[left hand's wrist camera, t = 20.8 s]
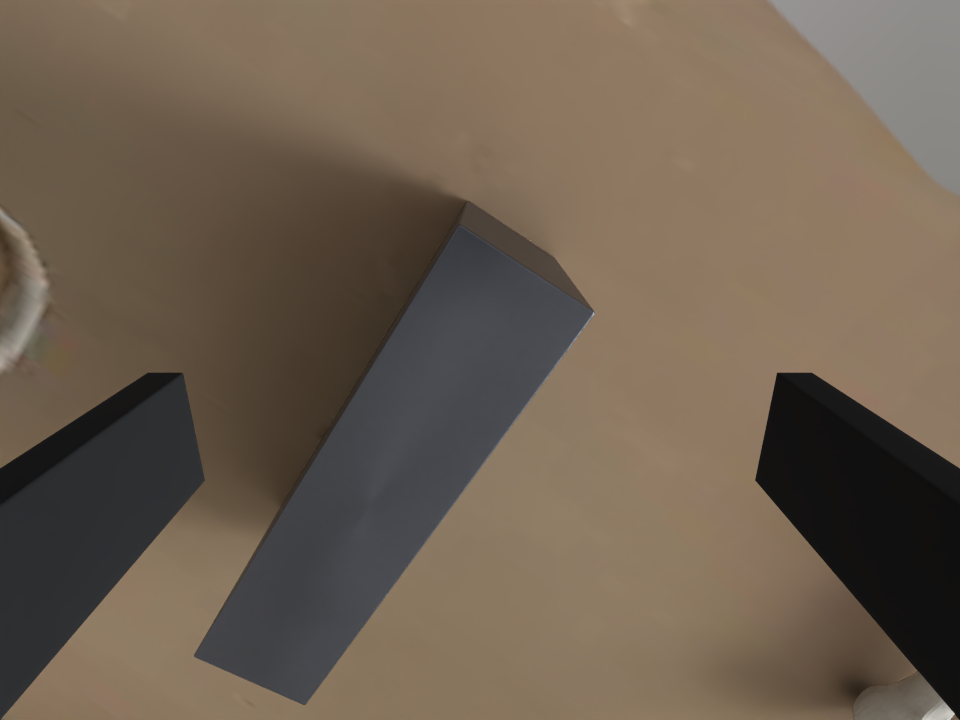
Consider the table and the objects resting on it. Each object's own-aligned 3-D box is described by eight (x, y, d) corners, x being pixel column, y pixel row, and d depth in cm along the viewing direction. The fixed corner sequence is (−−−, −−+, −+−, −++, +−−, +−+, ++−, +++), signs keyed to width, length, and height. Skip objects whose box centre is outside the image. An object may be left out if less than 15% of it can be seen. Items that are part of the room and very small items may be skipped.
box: (468, 200, 31) (459, 223, 20) (555, 258, 33) (596, 312, 21) (280, 507, 39) (192, 657, 27) (357, 546, 40) (304, 706, 28)
